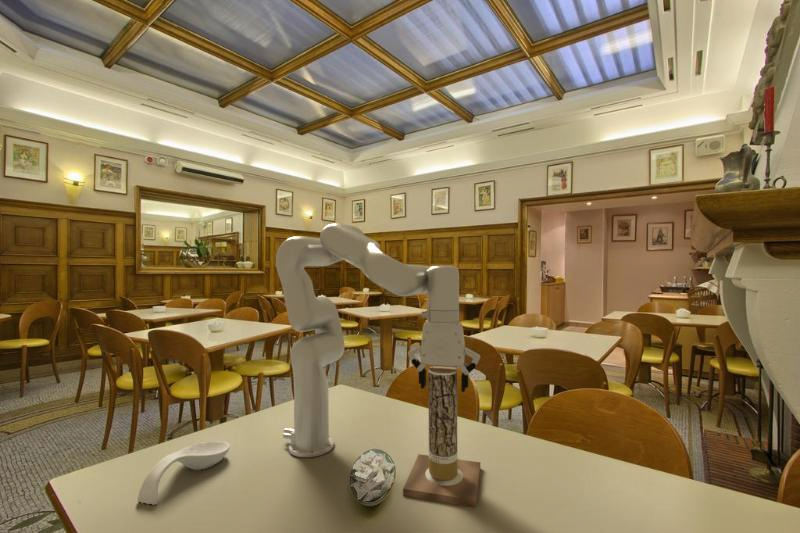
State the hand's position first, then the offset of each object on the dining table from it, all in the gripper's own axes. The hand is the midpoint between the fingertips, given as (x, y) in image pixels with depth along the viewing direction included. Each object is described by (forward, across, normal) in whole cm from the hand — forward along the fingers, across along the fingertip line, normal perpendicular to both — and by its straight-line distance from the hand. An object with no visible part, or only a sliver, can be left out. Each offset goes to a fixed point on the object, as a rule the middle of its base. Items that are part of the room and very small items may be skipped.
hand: (443, 388), depth 88 cm
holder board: (+22, 0, 0) cm, 22 cm away
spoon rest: (+23, -61, -14) cm, 67 cm away
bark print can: (+21, 0, 0) cm, 21 cm away
